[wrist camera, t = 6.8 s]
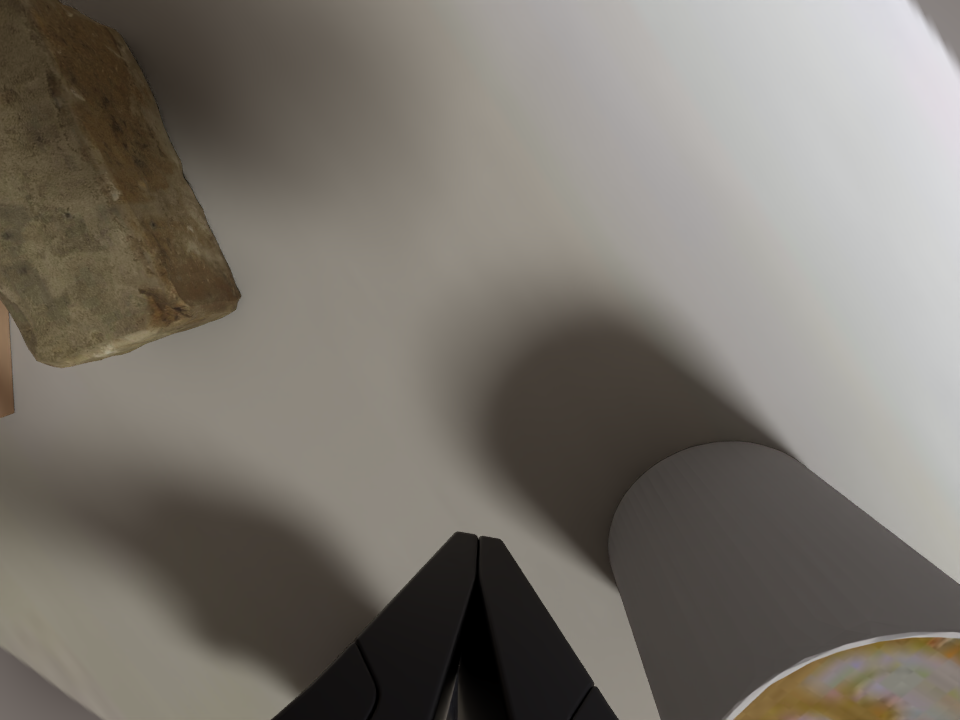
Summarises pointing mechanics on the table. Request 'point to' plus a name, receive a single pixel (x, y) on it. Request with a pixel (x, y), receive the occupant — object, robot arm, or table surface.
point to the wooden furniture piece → (5, 365)
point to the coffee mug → (778, 596)
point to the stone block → (94, 197)
